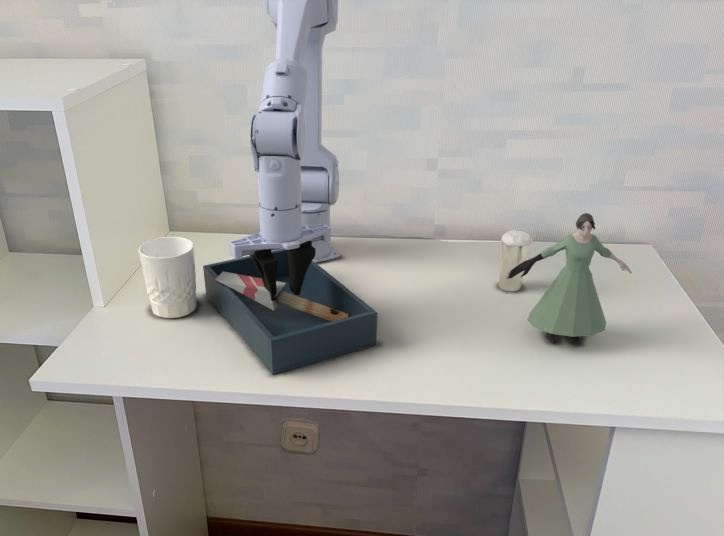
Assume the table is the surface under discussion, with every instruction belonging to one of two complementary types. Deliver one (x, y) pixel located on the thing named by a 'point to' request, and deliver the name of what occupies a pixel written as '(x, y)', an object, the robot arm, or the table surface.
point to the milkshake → (513, 257)
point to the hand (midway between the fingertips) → (283, 295)
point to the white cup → (169, 275)
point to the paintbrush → (259, 293)
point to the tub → (293, 316)
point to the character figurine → (571, 287)
